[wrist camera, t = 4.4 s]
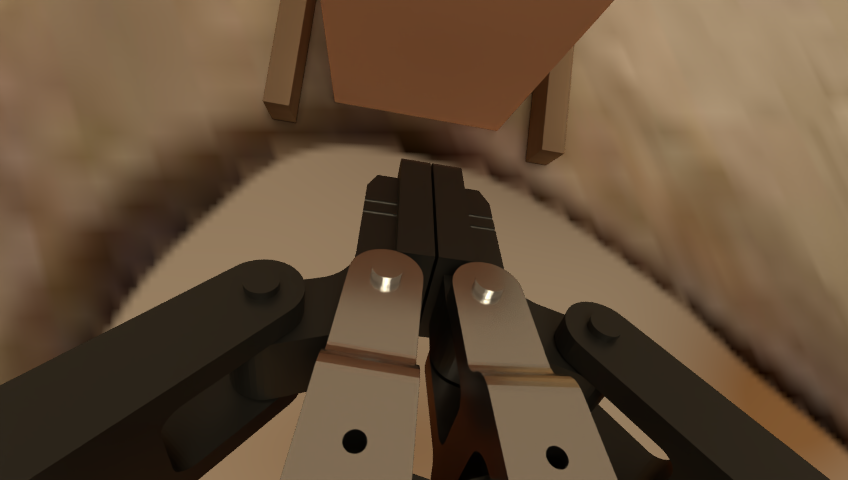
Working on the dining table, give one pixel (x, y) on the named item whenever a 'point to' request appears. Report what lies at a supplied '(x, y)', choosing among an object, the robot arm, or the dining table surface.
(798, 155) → the dining table surface
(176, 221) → the dining table surface
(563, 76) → the trap lane
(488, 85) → the terracotta block
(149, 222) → the dining table surface
